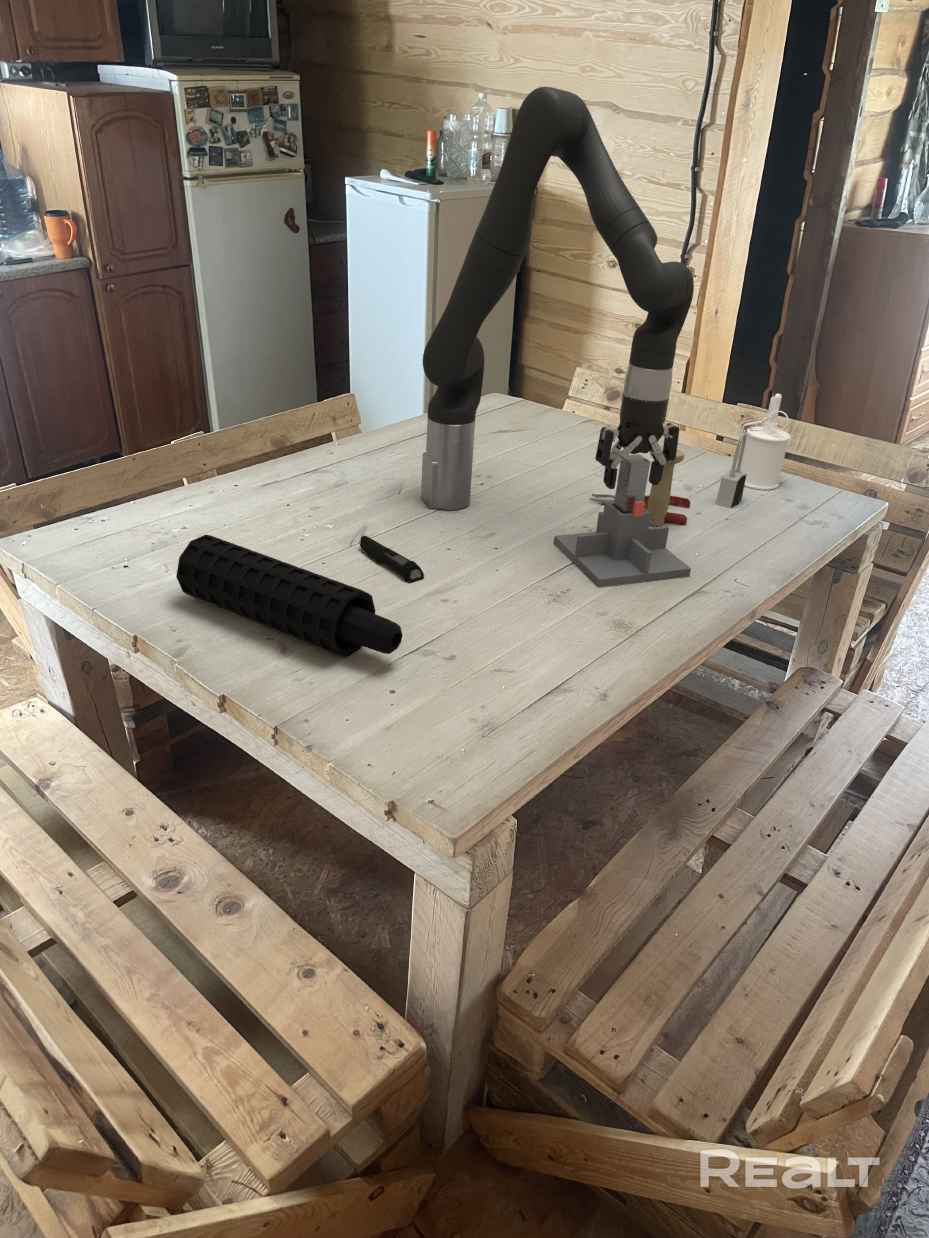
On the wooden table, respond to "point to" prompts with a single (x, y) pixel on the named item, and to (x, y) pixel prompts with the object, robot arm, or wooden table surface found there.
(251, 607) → the roller
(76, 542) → the wooden table surface
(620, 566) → the stand
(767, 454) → the white oil can
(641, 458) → the column
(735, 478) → the padlock
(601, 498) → the pliers
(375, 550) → the electric trimmer
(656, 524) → the handle
